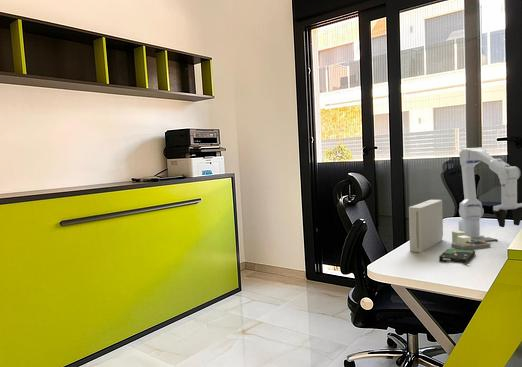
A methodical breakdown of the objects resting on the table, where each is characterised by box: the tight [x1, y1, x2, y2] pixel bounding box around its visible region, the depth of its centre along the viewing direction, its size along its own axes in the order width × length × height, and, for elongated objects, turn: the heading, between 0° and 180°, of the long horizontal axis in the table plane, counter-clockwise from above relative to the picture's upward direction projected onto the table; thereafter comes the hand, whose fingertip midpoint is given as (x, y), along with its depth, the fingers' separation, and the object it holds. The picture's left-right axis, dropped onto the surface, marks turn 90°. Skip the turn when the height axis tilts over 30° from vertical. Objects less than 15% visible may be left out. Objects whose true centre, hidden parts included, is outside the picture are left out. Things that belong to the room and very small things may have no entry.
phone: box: [471, 236, 499, 243], centre depth 187 cm, size 6×11×1 cm, turn 102°
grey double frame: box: [451, 240, 491, 251], centre depth 177 cm, size 7×14×2 cm, turn 102°
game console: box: [408, 199, 444, 253], centre depth 185 cm, size 6×27×20 cm, turn 137°
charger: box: [451, 230, 466, 244], centre depth 184 cm, size 4×4×6 cm
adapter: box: [457, 235, 473, 246], centre depth 174 cm, size 7×4×5 cm, turn 12°
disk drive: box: [438, 247, 476, 266], centre depth 162 cm, size 10×3×15 cm
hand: (509, 225), depth 172 cm, fingers open, 7 cm apart
